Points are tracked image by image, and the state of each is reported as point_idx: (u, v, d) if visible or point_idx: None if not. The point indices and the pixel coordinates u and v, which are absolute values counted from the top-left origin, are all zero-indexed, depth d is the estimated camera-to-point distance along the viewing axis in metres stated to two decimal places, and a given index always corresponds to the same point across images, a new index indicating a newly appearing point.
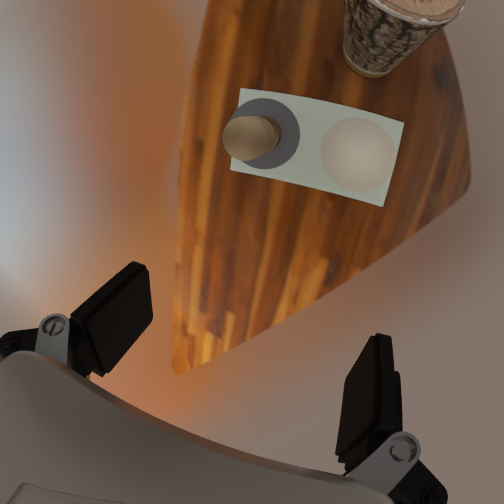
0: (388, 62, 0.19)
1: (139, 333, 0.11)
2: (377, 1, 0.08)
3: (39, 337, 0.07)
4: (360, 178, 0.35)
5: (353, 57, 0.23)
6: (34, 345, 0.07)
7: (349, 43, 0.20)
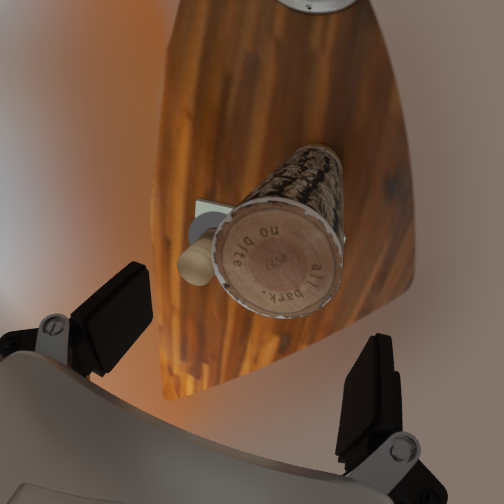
0: None
1: (139, 333, 0.11)
2: (240, 299, 0.16)
3: (39, 337, 0.07)
4: None
5: None
6: (34, 345, 0.07)
7: None
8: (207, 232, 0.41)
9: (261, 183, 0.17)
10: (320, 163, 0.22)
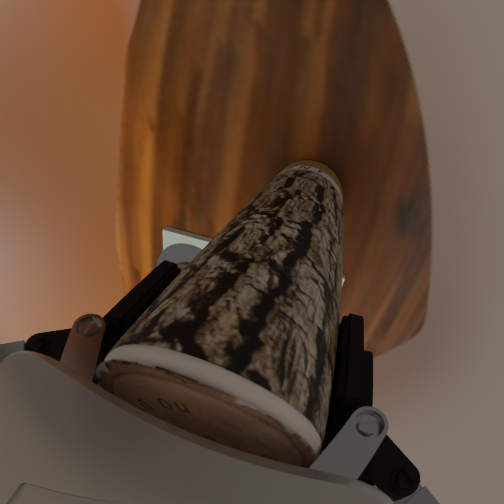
0: None
1: None
2: None
3: (71, 335, 0.07)
4: None
5: None
6: (65, 341, 0.08)
7: None
8: None
9: (193, 262, 0.10)
10: (308, 204, 0.14)
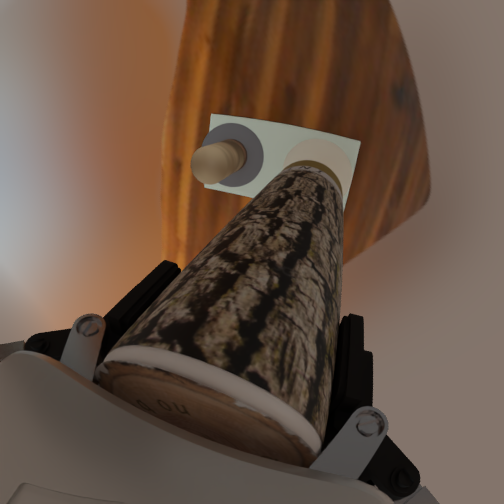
0: None
1: None
2: None
3: (71, 335, 0.07)
4: None
5: None
6: (65, 341, 0.08)
7: None
8: None
9: (192, 262, 0.10)
10: (308, 204, 0.14)
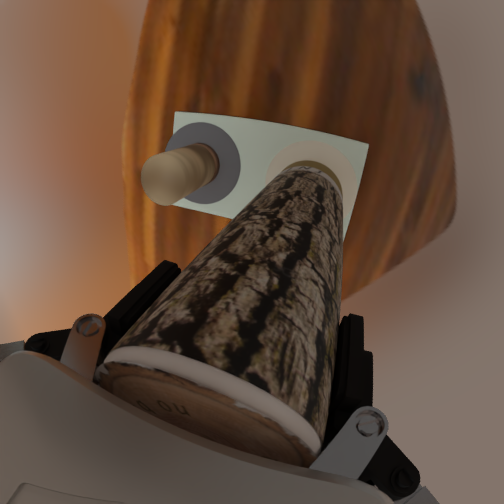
0: None
1: None
2: None
3: (71, 335, 0.07)
4: None
5: None
6: (65, 341, 0.08)
7: None
8: (186, 146, 0.30)
9: (192, 263, 0.10)
10: (308, 204, 0.14)
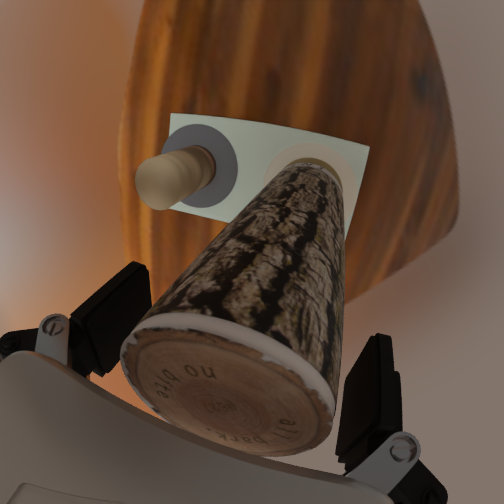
0: None
1: None
2: (179, 425, 0.09)
3: (39, 337, 0.07)
4: None
5: None
6: (34, 345, 0.07)
7: None
8: (182, 148, 0.29)
9: (210, 246, 0.11)
10: (312, 196, 0.15)
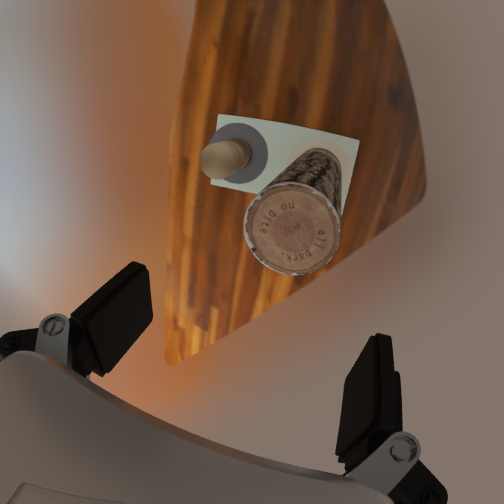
0: None
1: (139, 333, 0.11)
2: (263, 261, 0.21)
3: (39, 337, 0.07)
4: None
5: None
6: (34, 345, 0.07)
7: None
8: None
9: (278, 175, 0.23)
10: (322, 163, 0.27)
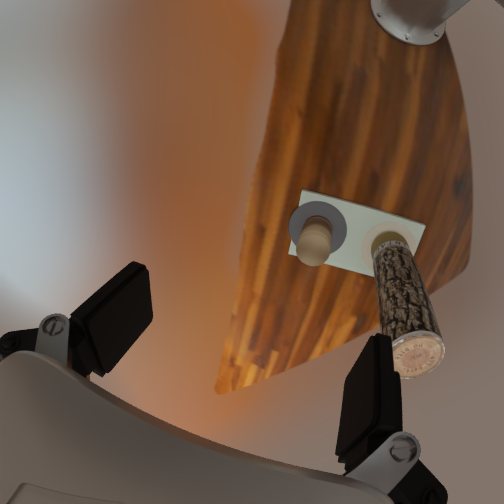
0: None
1: (139, 333, 0.11)
2: None
3: (39, 337, 0.07)
4: None
5: None
6: (34, 345, 0.07)
7: None
8: (313, 219, 0.45)
9: (400, 306, 0.27)
10: (416, 275, 0.32)
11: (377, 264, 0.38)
